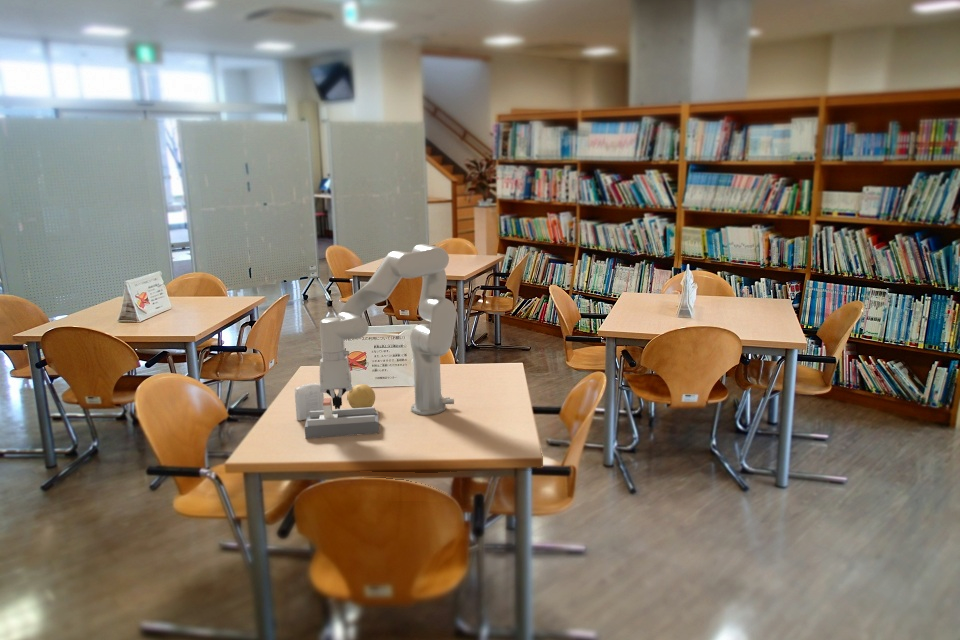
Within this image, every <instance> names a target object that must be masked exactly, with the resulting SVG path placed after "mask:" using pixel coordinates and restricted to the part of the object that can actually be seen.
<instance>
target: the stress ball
mask: <svg viewBox="0 0 960 640" xmlns="http://www.w3.org/2000/svg"><path fill="white" fill-rule="evenodd" d="M346 400H347V401H348V404H349V406H350V407H351V408H367V407H374V404H375V401H376V394H375V391H374V389H373V388H372V387H371V386H369V385H368V384H364V383H359V384H356V385H354V386H352V390H350V391H348V393H347V397H346Z"/></svg>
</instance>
